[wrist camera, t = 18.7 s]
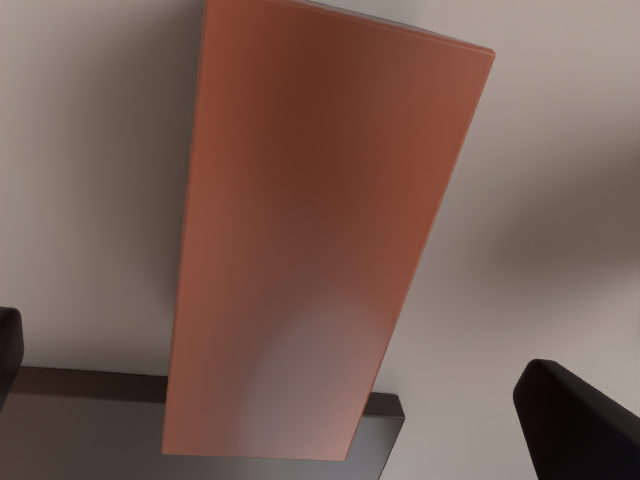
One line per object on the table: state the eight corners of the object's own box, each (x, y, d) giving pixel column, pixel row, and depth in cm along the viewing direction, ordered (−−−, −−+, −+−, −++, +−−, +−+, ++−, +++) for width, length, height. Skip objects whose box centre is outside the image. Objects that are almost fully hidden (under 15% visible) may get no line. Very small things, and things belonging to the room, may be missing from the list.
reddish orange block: (418, 27, 12) (499, 51, 8) (324, 348, 17) (346, 463, 13) (224, -21, 11) (205, -22, 7) (184, 335, 16) (160, 455, 12)
